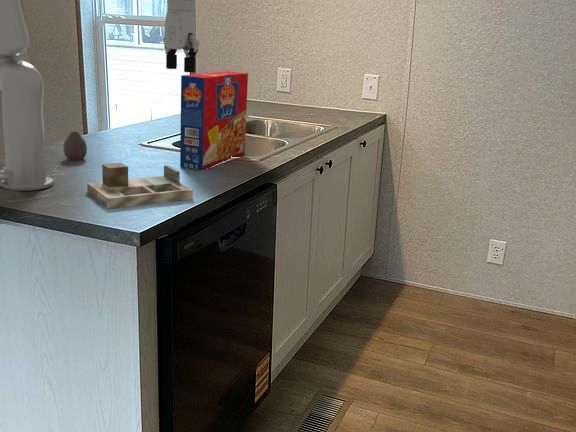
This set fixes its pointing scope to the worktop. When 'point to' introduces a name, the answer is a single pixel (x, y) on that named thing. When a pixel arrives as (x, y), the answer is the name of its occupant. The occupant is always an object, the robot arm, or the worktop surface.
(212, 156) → the pasta box
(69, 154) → the vase
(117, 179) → the walnut block
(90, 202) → the worktop surface
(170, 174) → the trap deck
